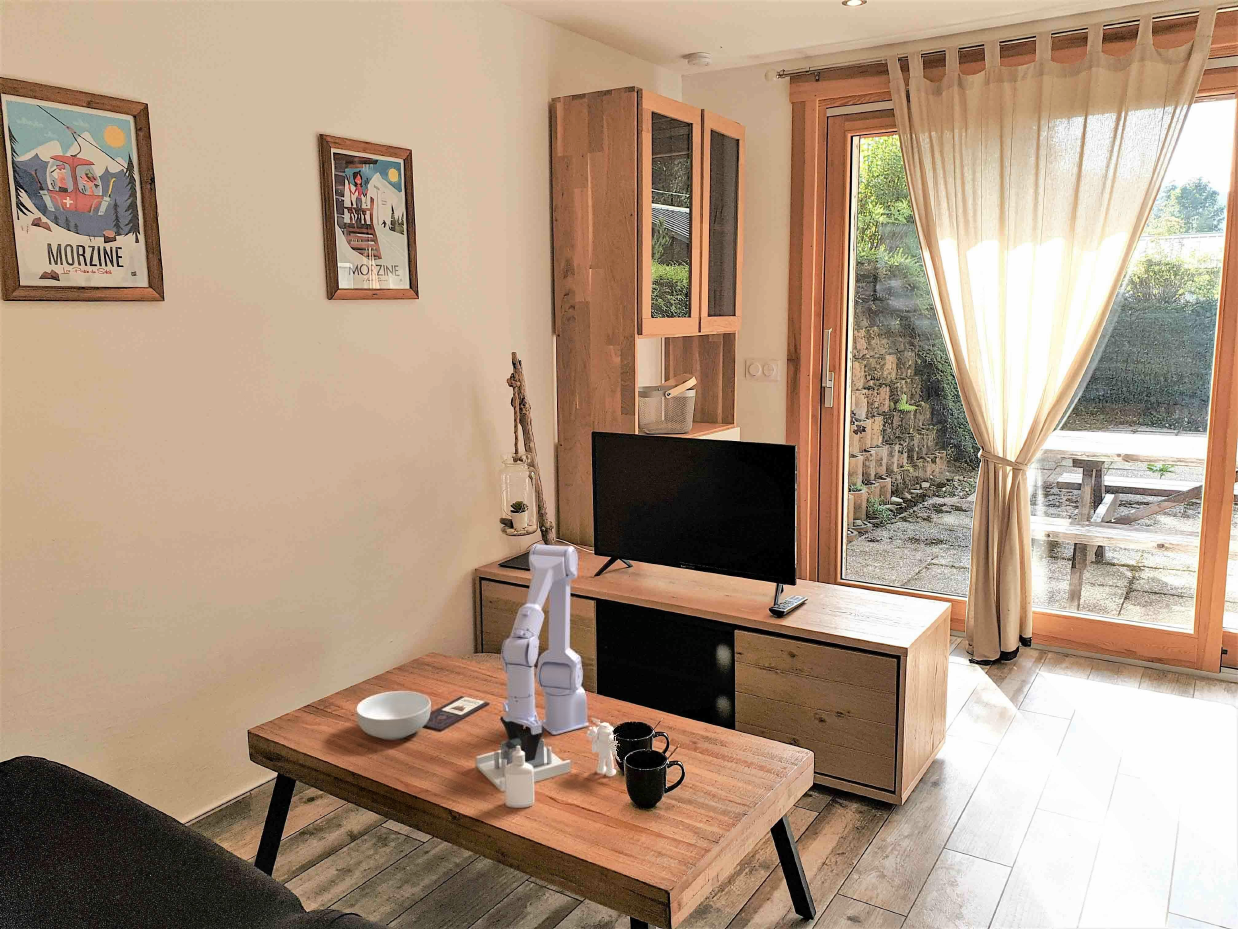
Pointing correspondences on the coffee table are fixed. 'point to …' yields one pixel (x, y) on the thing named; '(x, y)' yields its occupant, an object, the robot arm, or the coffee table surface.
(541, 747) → the grey rectangular block
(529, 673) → the robot arm
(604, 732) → the flower shoulder figurine
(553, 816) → the coffee table surface
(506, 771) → the eye dropper bottle
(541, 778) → the tray
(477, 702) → the chocolate bar
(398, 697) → the cereal bowl
